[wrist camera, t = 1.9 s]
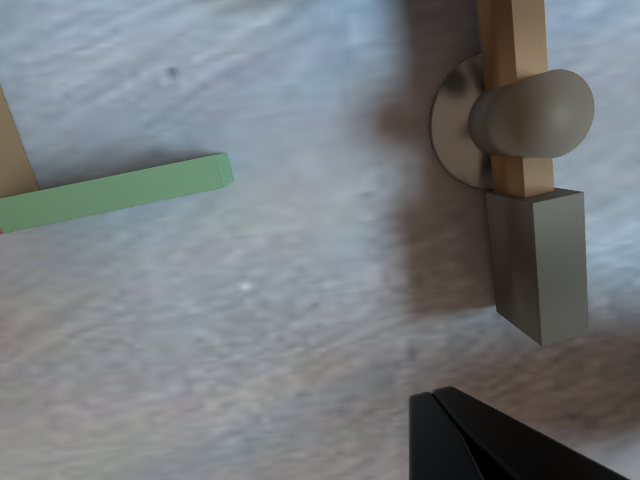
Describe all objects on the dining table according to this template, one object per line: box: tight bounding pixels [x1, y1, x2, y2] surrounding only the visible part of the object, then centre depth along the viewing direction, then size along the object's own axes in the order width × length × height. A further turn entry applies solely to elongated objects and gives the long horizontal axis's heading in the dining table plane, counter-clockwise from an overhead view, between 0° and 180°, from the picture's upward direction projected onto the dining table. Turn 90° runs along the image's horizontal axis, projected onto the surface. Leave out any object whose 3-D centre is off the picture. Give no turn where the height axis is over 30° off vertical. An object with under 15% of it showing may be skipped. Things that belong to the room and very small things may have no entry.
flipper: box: [468, 0, 594, 346], centre depth 15 cm, size 22×3×4 cm, turn 11°
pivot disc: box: [430, 53, 494, 189], centre depth 18 cm, size 6×6×1 cm
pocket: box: [0, 86, 234, 234], centre depth 14 cm, size 12×9×3 cm
